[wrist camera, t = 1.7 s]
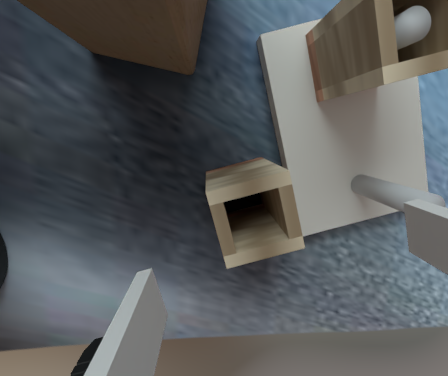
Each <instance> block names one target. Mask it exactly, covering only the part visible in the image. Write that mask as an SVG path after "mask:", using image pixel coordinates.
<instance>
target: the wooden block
mask: <svg viewBox="0 0 448 376" xmlns="http://www.w3.org/2000/svg"><path fill="white" fill-rule="evenodd" d="M17 1H19V2H20V3H22V4H23V5H24V6H26V7H27V8H29V9H30V10H32V11H33V12H35V13H36V14H37V15H39V16H40V17H42V18H43V19H45V20H46V21H48V22H49V23H50V24H52V25H53V26H55V27H56V28H58V29H59V30H61V31H62V32H63V33H65V34H66V35H68V36H69V37H71V38H72V39H74V40H75V41H76V42H78V43H79V44H81V45H82V46H84V47H85V48H87V49H88V50H90V51H91V52H92V53H96V54H101V55H105V56H109V57H113V58H118V59H122V60H126V61H131V62H135V63H139V64H143V65H148V66H152V67H156V68H161V69H165V70H169V71H173V72H178V73H182V74H186V75H192V74H193V73H194V71H195V66H196V61H197V55H198V49H199V44H200V38H201V33H202V27H203V21H204V16H205V10H206V4H207V0H17Z"/></svg>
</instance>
